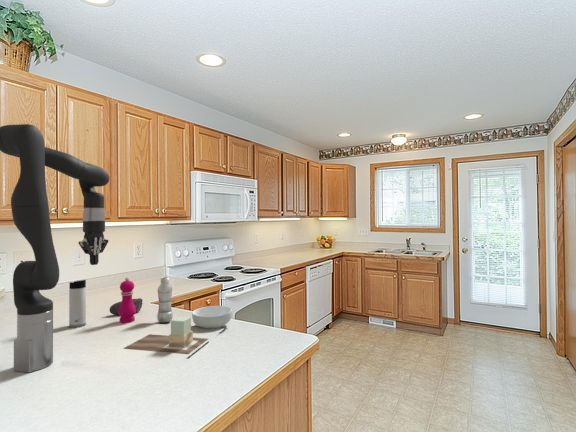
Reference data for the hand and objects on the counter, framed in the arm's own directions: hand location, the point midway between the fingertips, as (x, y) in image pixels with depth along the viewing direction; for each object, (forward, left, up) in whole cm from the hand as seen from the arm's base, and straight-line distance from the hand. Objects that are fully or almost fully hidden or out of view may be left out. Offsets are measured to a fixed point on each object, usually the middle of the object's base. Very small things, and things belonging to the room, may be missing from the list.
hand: (94, 264), depth 132 cm
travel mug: (+14, +21, -29) cm, 39 cm away
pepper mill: (+24, +4, -29) cm, 38 cm away
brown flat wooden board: (-1, -32, -29) cm, 44 cm away
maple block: (-1, -38, -27) cm, 47 cm away
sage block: (-1, -38, -23) cm, 45 cm away
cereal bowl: (+24, -38, -29) cm, 54 cm away
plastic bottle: (+26, -14, -29) cm, 42 cm away
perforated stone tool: (+35, +13, -29) cm, 48 cm away
